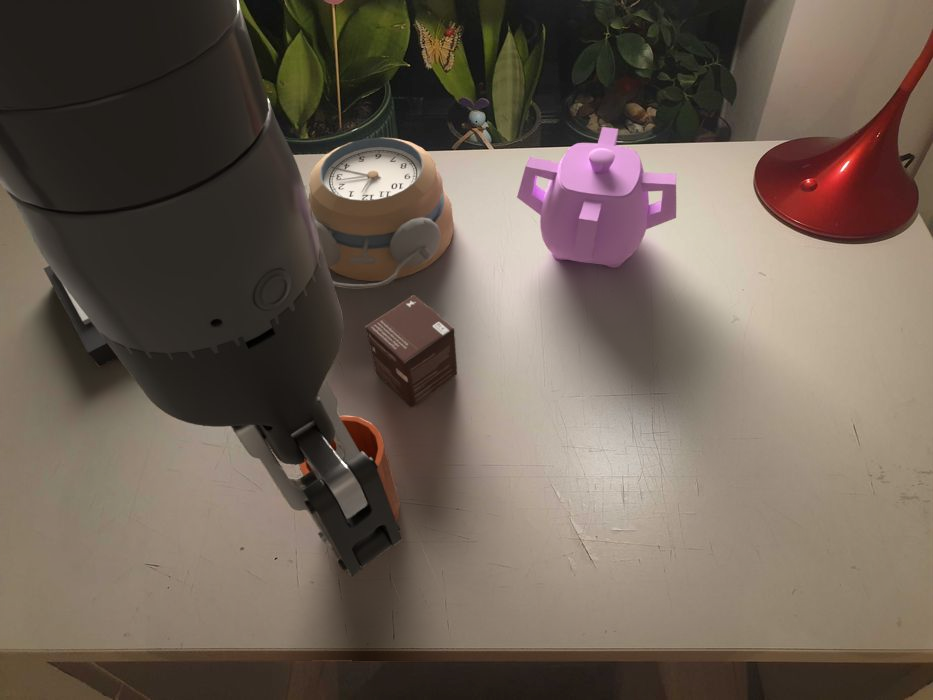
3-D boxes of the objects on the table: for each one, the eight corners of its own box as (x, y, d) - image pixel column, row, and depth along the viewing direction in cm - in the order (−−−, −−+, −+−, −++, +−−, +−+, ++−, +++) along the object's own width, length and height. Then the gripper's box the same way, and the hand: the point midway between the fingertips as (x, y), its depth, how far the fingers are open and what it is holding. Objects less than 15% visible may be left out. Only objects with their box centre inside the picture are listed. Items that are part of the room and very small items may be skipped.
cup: (351, 560, 54) (326, 506, 46) (313, 505, 57) (284, 446, 50) (414, 514, 56) (399, 456, 49) (374, 464, 60) (354, 402, 52)
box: (374, 373, 66) (362, 325, 60) (421, 341, 69) (413, 292, 63) (412, 410, 63) (403, 363, 58) (459, 375, 66) (455, 327, 60)
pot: (532, 184, 84) (535, 99, 75) (672, 201, 81) (693, 115, 72) (500, 282, 73) (500, 198, 64) (660, 307, 70) (684, 221, 61)
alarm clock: (454, 122, 77) (437, 259, 63) (458, 187, 84) (444, 323, 70) (311, 123, 78) (263, 258, 64) (327, 187, 86) (287, 320, 71)
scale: (99, 367, 68) (84, 349, 66) (54, 283, 77) (40, 264, 74) (223, 303, 73) (214, 284, 71) (168, 230, 82) (158, 211, 79)
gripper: (20, 199, 23) (192, 437, 36) (177, 477, 16) (323, 653, 29) (215, 118, 26) (311, 366, 39) (425, 325, 19) (459, 547, 31)
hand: (316, 488), depth 34 cm, fingers open, 8 cm apart
